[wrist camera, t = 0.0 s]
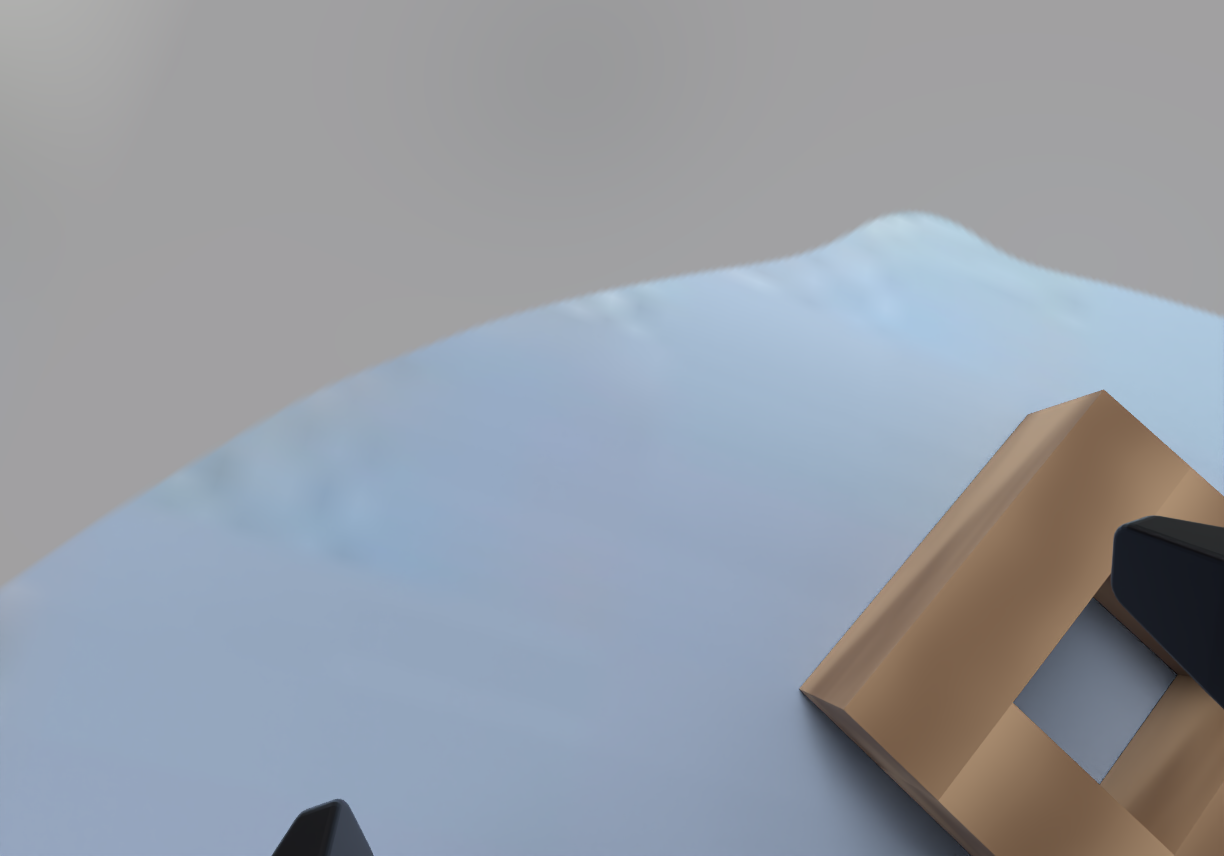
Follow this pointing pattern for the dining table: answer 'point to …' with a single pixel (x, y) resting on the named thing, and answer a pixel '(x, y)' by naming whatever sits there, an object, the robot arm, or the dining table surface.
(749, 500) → the dining table surface
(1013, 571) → the block
